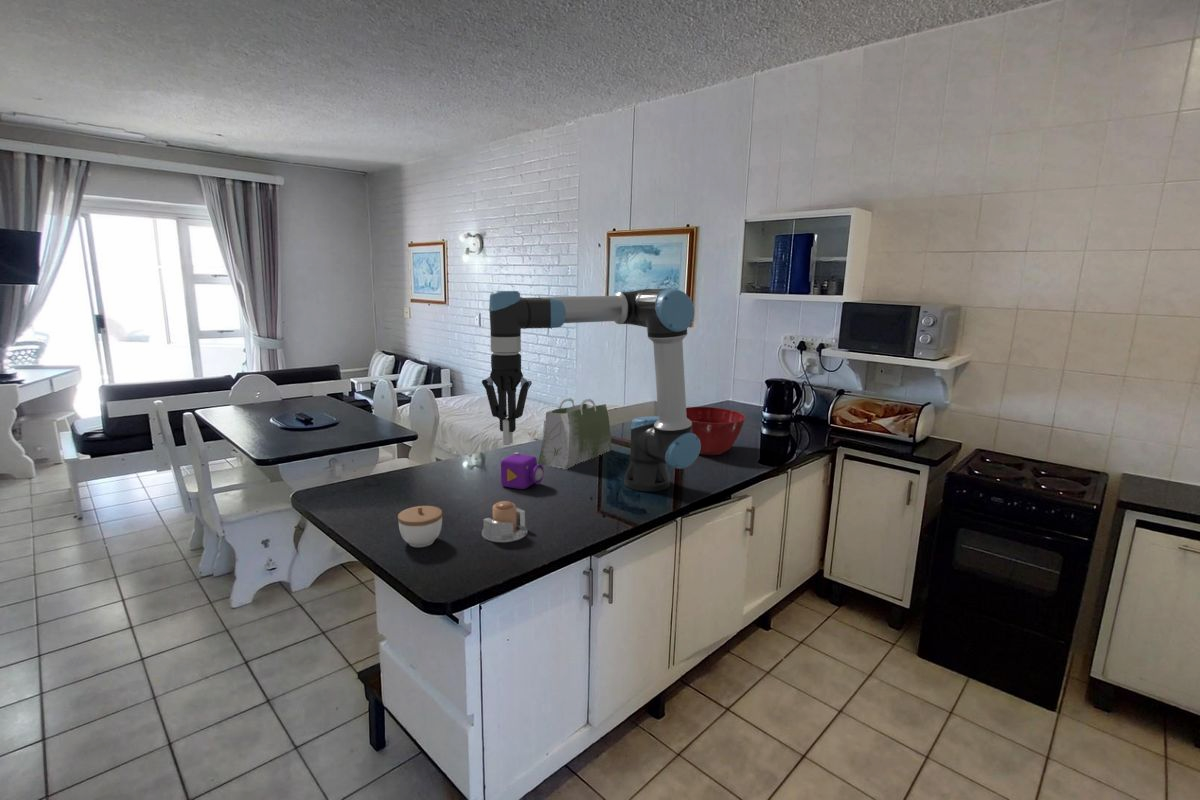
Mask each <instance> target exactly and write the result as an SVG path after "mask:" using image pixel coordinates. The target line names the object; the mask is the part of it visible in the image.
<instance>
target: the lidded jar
mask: <svg viewBox="0 0 1200 800" xmlns="http://www.w3.org/2000/svg"><path fill="white" fill-rule="evenodd" d="M397 520H398V528H399V532H400V536H401V538H402V539H403V540H404V541H405V543H407V544H408V545H409V546H410V547H413V548H424V547H428V546H430V545H432V544H433V543H434V542H435V540H436V539H437V538H439V536H440V534H441V531H442V526H443V510H442V509H441V508H440V507H437V506H434V505H418V506H417V505H416V506H411V507H409V508H406V509H404V510H401V511H400V512H399V513H398V514H397Z"/></svg>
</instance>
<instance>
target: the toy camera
mask: <svg viewBox="0 0 1200 800" xmlns="http://www.w3.org/2000/svg"><path fill="white" fill-rule="evenodd" d="M544 470H545V469H544V465H541V464H538V461H537V457H536V456H534V455H528V454H520V452H518V451H516V452H514V453H513V454H511V455H509V456H506V457H504V458H503V459H502V460H501V461H500V483H501V485H502V486H503V487H505V488H511V489H518V490H525V489H528V488H529V487H531V486H532V485H534V484H536V485H539V484H540V483H541V482H542V480H543V478H544V473H545V471H544Z"/></svg>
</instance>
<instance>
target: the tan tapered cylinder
mask: <svg viewBox="0 0 1200 800" xmlns="http://www.w3.org/2000/svg"><path fill="white" fill-rule="evenodd" d="M516 508H517V506H516V504H515V503H513V502H512V501H509V500H501V501H498V502H496V503H495V504H493V505H492V520H494V521H512V522H513V534H514V533H515V532H516Z"/></svg>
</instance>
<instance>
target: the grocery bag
mask: <svg viewBox="0 0 1200 800" xmlns="http://www.w3.org/2000/svg"><path fill="white" fill-rule="evenodd" d="M566 402H571V403H572V406H569V407H563V408H562V406H563V404H564V403H566ZM587 402H589V403H591V404H592V405H590V404H588V403H587ZM543 432H544V433H543V437H542V443H541V449H540V454H539V457H538V461H537V465H539V464H540V465H542V466H545V467H551V466H552V467H551V468H556V467H557V469H560V468H562V470H565V469H567V470H569V469H570V467H571V468H573V467H574V466H575V464H576V465H578V463H579V464H581V463H580V462H582V463H584V462H587V461H589V460H588V459H590V460H592V459H595V458H597V456H598V457H600V456H599V455H601V456H603V455H605V454H607V453H608V452H610V451H612V435H611V427H610V417H609V413H608V407H607V404H606V403H605V404H598V405H597V404H596V403H595V401H594V400H592V399H591V398H588V399H583V400H582V402H581V403H580V404H576V405H575V402H574V399H572V398H565V399H564V398H563V399H562V401H561V402H560V404H559V407H558V408H556V409H553V410H549V411H546V412H545V423H544V431H543ZM606 452H607V453H606ZM604 453H605V454H604ZM602 454H603V455H602ZM594 457H595V458H594ZM591 458H592V459H591ZM586 460H587V461H586ZM583 461H584V462H583ZM568 468H569V469H568Z"/></svg>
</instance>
